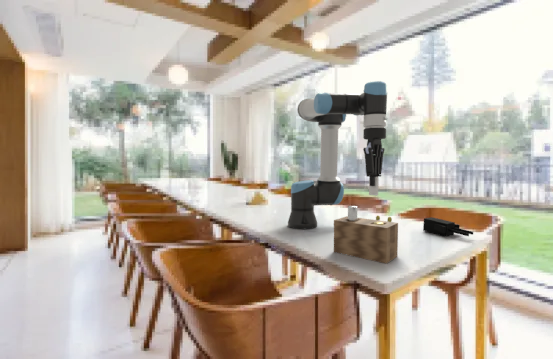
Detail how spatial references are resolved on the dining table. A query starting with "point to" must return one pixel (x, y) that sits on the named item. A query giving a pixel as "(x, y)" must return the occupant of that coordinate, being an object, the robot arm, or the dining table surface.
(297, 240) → the dining table surface
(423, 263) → the dining table surface
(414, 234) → the dining table surface
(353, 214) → the peg
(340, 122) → the robot arm
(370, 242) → the socket block
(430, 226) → the black pronged block
